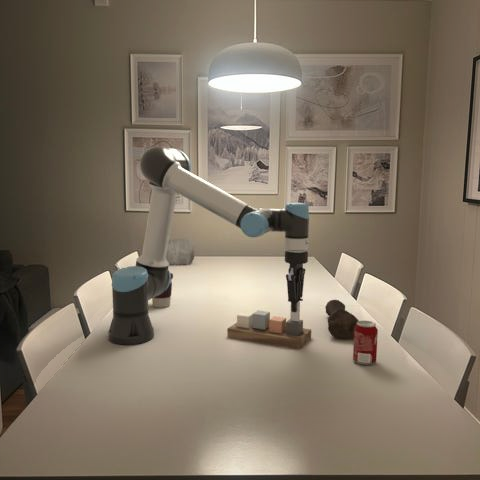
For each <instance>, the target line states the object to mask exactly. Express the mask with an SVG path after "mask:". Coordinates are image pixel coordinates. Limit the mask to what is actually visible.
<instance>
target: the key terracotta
mask: <svg viewBox="0 0 480 480" xmlns="http://www.w3.org/2000/svg"><path fill="white" fill-rule="evenodd" d="M286 322H287V318H286V317H280V316H273V317H270V320H269V332H275V333H281V334H282V333H283V332H285V331H286Z"/></svg>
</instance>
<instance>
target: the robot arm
mask: <svg viewBox="0 0 480 480" xmlns="http://www.w3.org/2000/svg"><path fill="white" fill-rule="evenodd" d="M191 167H192V165H191V161H190V159H189V157H188V155H187V154H186V153H185V152H183V150H180V149H177V148H175V147H173V148H172V147H162V146H153V147H151V148H149V149H147V150H146V151H145V152H143V154H142V155H141V158H140V161H139V168H140V172H141V175H142V176H144V178H145V179H146V180H147V181H149V182H148V184H149V186H150V188H151V190H152V191H151V198H150V203H149V208H148V209H149V210H148V216H147V223H146V227H145V228H146V229H145V234H144V240H143V245H142V253H141V255H140V256H138V257H137V258H136V262H135V265H133V266H130V265H129V266H126V267H121V268H119V269H117V270H115V271H114V272H113V274H112V277H111V278H112V279H111V288H112V289H111V291H112V292H111V293H112V318H111V319H112V320H111V323H110V326H109V330H108V333H107V334H108V340H109V342H111V343H113V344H117V345H124V346H126V345H139V344H143V343H147V342H149V341H151V340H152V339H153V338H154V337H155V329H154V327H153V324H152V321H151V318H150V315H149V300H152V298H154V297H156V296H158V295H160V294H162V293H163V292H164V291H165V290H166V289H167V288H168V286H169V284H170V281H171V274H170V273H171V272H170V270H169V266H170V265H169V263H168V261H167V260H166V254H167V248H168V243H169V238H170V237H171V236H170V235H171V230H172V224H173V218H174V213H175V209H176V208H175V206H176V202H177V196H178V195H181V196H182V197H184V198H186V199H187V200H189V201H191V202H193V203H195V204H196V205H198V206H200V207H201V208H204V209H205V210H207V211H209V212H210V213H212V214H214V215H215V216H218V217H219V218H221V219H223V220H224V221H227V223H230V224H231V225H233V226H236V227H237V228H239V229H240V230H241V232H242V233H243V234H244V235H245V236H247V237H249V238H258V237H262V236H264V235H265V234H267V233H269V232H274V233H275V232H277V233H279V232H280V233H285V235H284V249H285V252H284V262H285V263H287V264H289V267H288V271H287V272H288V273H287V274H285V279H286V285H287V287H286V288H287V302H288V303H289V302H290V316H289V318H290V321H297V322H298V321H300V320H301V318H300V316H301V314H300V312H301V302H303V300H304V299H303V295H304V294H303V293H304V284H305V283H304V282H305V274H306V268H305V267H304V264H307V263H308V262H309V252H308V249H309V245H310V241H309V227H310V225H309V224H310V215H309V214H310V212H309V205H308V204H307V203H304V202H287V203H286V204H285V207H284V208H269V207H268V208H264V207H258V208H257V207H256V208H255V207H253V206H251V205H249V204H248V203H246V202H244V201H243V200H240V199H238V197H235V196H234V195H231V194H229V193H227V192H226V191H224V190H222V189H221V188H220V187H217V186H215V185H213V184H212V183H210V182H208V181H206V180H204V179H203V178H201V177H200V176H197V175H196V174H193V173H192V172H191V171H192V169H191ZM171 282H172V281H171Z"/></svg>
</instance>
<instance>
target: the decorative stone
mask: <svg viewBox="0 0 480 480" xmlns="http://www.w3.org/2000/svg"><path fill="white" fill-rule="evenodd" d="M194 259H195V246H194V243H192V242H191V241H190V240H188V239H186V238H183V237H179V236H170V237H169V243H168V248H167V254H166V260H167V261H168V263H169V266H189V265H190V264H192V263H193V262H194Z"/></svg>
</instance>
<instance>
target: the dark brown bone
mask: <svg viewBox="0 0 480 480" xmlns="http://www.w3.org/2000/svg"><path fill="white" fill-rule="evenodd" d="M325 313H326V315H327V316H328V318H327V325H328V326H327V330H328V332H329V333H330V335H331V336H333V338H335V339H337V340H344V341H347V340H354V328H355V326H356V325H357V322H358V321H360V320H359V319H358V318H357V317H356V316H355V315H354V314H352V312H349V311H347V310H346V305H345V304H344V303H343V302H342V301H341V300H339V299H331V300H329V301H328V302H327V303H326V305H325Z"/></svg>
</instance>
